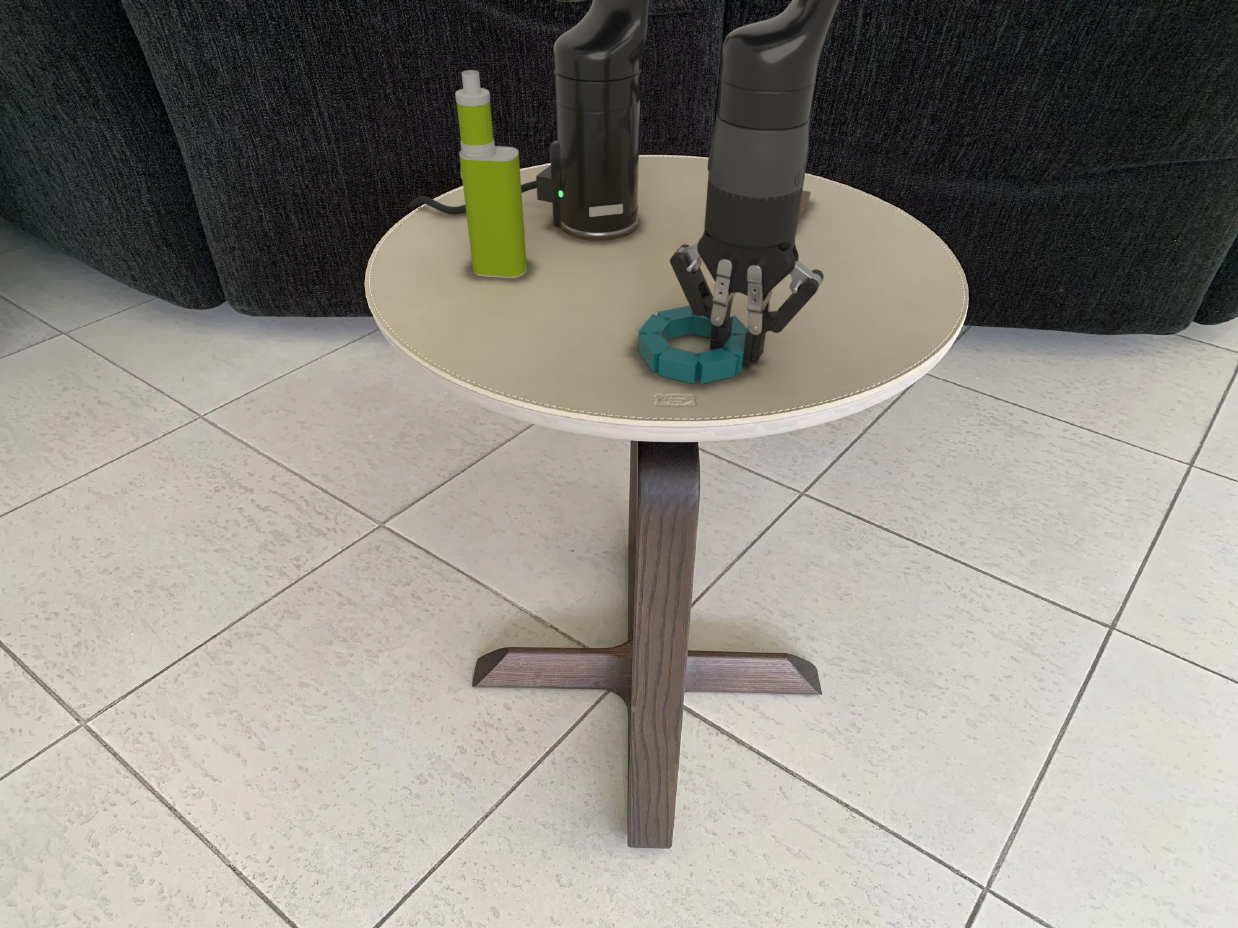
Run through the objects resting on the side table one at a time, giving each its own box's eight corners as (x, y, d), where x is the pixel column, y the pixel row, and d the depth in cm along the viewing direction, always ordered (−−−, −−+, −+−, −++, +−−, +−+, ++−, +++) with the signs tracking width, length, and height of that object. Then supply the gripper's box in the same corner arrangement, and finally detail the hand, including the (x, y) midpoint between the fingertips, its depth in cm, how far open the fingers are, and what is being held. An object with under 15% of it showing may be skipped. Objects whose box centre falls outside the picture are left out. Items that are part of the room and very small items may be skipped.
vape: (477, 259, 92) (455, 66, 79) (530, 263, 92) (516, 69, 79) (468, 275, 89) (443, 77, 77) (522, 279, 89) (507, 80, 76)
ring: (624, 367, 76) (624, 348, 75) (663, 316, 83) (664, 298, 82) (728, 393, 73) (731, 374, 72) (760, 338, 80) (763, 319, 79)
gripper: (853, 172, 66) (818, 356, 77) (690, 146, 70) (679, 325, 81) (832, 207, 61) (798, 399, 72) (657, 177, 65) (650, 363, 76)
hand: (735, 359), depth 77 cm, fingers closed on ring, 2 cm apart
